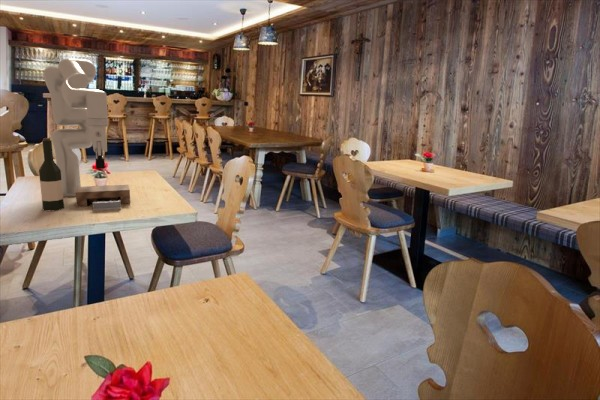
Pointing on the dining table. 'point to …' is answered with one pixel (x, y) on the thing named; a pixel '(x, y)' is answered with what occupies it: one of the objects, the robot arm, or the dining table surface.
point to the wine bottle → (50, 180)
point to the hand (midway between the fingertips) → (100, 168)
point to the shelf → (102, 194)
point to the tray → (107, 205)
